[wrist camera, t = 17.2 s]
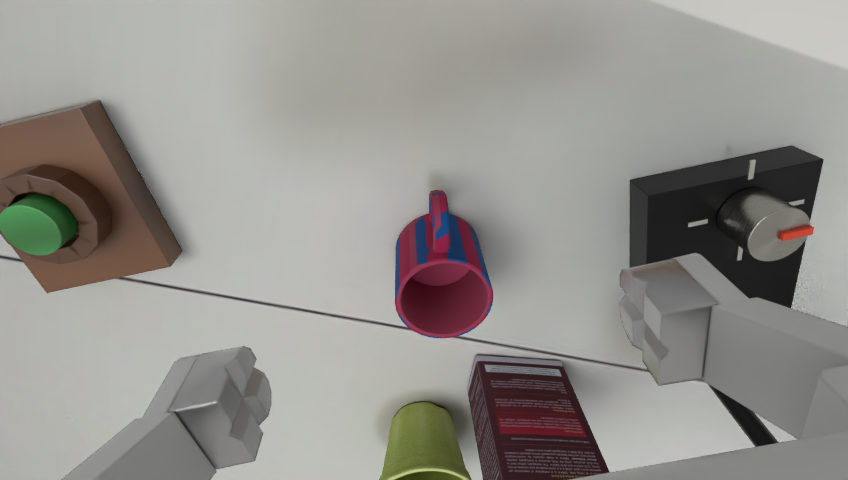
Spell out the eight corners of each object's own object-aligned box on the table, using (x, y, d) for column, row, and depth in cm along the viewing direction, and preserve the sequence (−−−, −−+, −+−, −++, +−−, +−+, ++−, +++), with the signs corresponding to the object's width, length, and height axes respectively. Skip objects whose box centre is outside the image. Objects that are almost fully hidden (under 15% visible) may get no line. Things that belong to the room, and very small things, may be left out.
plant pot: (362, 400, 46) (355, 483, 38) (456, 379, 45) (467, 460, 37) (390, 459, 50) (388, 544, 43) (475, 440, 49) (489, 524, 42)
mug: (394, 283, 39) (393, 337, 33) (399, 170, 34) (399, 210, 28) (473, 285, 40) (486, 339, 34) (489, 174, 35) (508, 215, 29)
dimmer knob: (715, 242, 35) (748, 270, 32) (718, 195, 33) (753, 219, 30) (770, 229, 35) (809, 256, 31) (776, 180, 33) (818, 203, 29)
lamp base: (629, 166, 35) (649, 182, 32) (794, 131, 34) (829, 144, 31) (629, 320, 42) (645, 344, 40) (765, 294, 42) (790, 317, 39)
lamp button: (5, 200, 30) (-15, 212, 29) (57, 188, 30) (39, 199, 29) (39, 247, 32) (21, 260, 31) (88, 236, 32) (73, 249, 30)
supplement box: (465, 390, 46) (494, 569, 32) (475, 352, 43) (510, 528, 29) (550, 395, 47) (614, 572, 33) (564, 359, 44) (639, 532, 30)
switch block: (-39, 133, 32) (-94, 152, 28) (99, 100, 31) (60, 115, 27) (64, 277, 37) (30, 307, 34) (182, 251, 37) (159, 280, 33)
